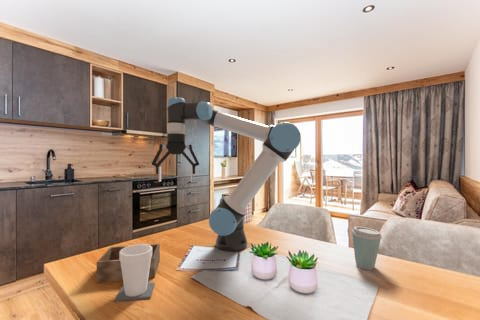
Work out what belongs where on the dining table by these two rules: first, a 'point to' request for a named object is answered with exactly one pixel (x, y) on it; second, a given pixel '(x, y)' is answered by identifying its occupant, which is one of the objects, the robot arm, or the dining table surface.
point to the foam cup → (135, 268)
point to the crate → (111, 264)
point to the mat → (145, 295)
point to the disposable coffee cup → (366, 246)
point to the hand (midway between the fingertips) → (175, 181)
